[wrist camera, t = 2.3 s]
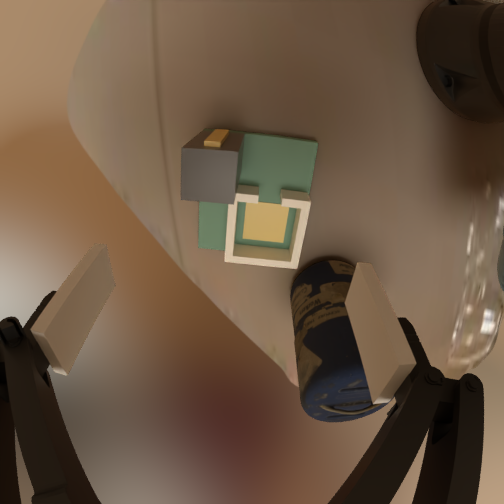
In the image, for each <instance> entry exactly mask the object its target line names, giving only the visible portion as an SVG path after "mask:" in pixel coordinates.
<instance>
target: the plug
mask: <svg viewBox="0 0 504 504" xmlns="http://www.w3.org/2000/svg"><path fill="white" fill-rule="evenodd" d="M244 137H245V134H243V133H231V132H229V130H225V129H215V130H214V131H202V132H200V133H199V134H198V135H197V136H195V137H194V138H193V139H192V140H191V141H189V142H188V143H187V144H186V145H185V146H183V147H182V154H181V200H188V201H200V202H211V203H222V204H233V205H234V201H235V197H236V193H237V188H238V184H239V180H240V175H241V168H242V157H243V147H244Z"/></svg>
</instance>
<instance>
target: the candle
mask: <svg viewBox="0 0 504 504" xmlns="http://www.w3.org/2000/svg"><path fill="white" fill-rule="evenodd" d="M354 272H355V268H354V267H353V266H351V265H350V264H347V263H345V262H343V261H334V260H332V261H323V262H319V263H316V264H314V265H312V266H310V267H308V268H307V269H305V270H304V271H303V272H302V273H301V274H300V275H299V276H298V277H297V278H296V280H295V282H294V284H293V286H292V289H291V295H290V298H291V309H292V318H293V327H294V335H295V342H294V344H295V352H296V362H297V372H298V382H299V390H300V400H301V404H302V407H303V409H304V411H305V412H306V413H307V414H308V415H309V416H311V417H312V418H314V419H317V420H320V421H325V422H343V421H350V420H355V419H358V418H362V417H364V416H367V415H370V414H372V413H374V412H376V411H378V410H379V409H381V408H382V407H384V406H385V405H387V404H388V403H389V402H390V401H391V400H392V399H393V398H394V397H395V396H393V397H392V399H391V400H390V401H389V402H387V403H379V404H373V402H372V398H371V394H370V390H369V386H368V382H367V379H366V375H365V371H364V367H363V363H362V360H361V356H360V353H359V349H358V346H357V342H356V339H355V335H354V332H353V328H352V325H351V322H350V318H349V315H348V312H347V309H346V305H345V301H346V297H347V294H348V291H349V288H350V285H351V282H352V278H353V275H354Z"/></svg>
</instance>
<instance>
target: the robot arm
mask: <svg viewBox="0 0 504 504" xmlns="http://www.w3.org/2000/svg"><path fill="white" fill-rule="evenodd" d="M417 48H418V54H419V59H420V62H421V66H422V68H423V71H424V74H425V76H426V78H427V80H428V82H429V84H430V86H431V87H432V89H433V91H434V92H435V93H436V95H437V96H438V97H439V99H440V100H441V101H442V102H443V103H444V104H445V105H446V106H447V107H448V108H449V109H450V110H452V111H453V112H455V113H456V114H458V115H459V116H462V117H464V118H466V119H470V120H473V121H476V122H479V123H487V124H491V123H498V122H504V3H499V4H494V3H490V2H487V1H483V0H437V1H435V2H433V3H432V4H430V5H429V6H428V7H427V8H426V9H425V11H424V12H423V14H422V16H421V18H420V21H419V24H418V29H417ZM497 271H498V279H499V283H500V286H501V288H502V290H503V291H504V228H503V241H502V245H501V250H500V254H499V258H498V265H497ZM114 287H115V282H114V277H113V273H112V268H111V264H110V259H109V255H108V249H107V245H106V244H94V245H93V246H92V247H91V249H90V250H89V251H88V252H87V253H86V255H85V256H84V257H83V258H82V260H81V261H80V262H79V263H78V265H77V266H76V267H75V268H74V270H73V271H72V272H71V273H70V275H69V276H68V277H67V279H66V280H65V281H64V283H63V284H62V285H61V287H60V288H59V290H58V291H52V292H51V293H49V294H48V295H47V296H45V298H44V299H43V300H42V302H41V303H40V305H39V306H38V307H37V309H36V311H35V312H34V313H33V314H32V316H31V317H30V319H29V320H28V321H27V323H26V324H25V326H24V327H23V328H22V326H21V324H20V322H19V320H18V319H17V318H16V317H7V318H5V319H3V320H2V321H1V322H0V504H21V498H20V492H19V485H18V476H17V466H16V452H15V429H16V433H17V437H18V441H19V445H20V448H21V452H22V456H23V459H24V462H25V465H26V468H27V471H28V475H29V477H30V480H31V483H32V486H33V488H34V495H33V496H32V504H101V502H100V501H99V499H98V498H97V496H96V494H95V492H94V490H93V488H92V487H91V484H90V482H89V481H88V478H87V476H86V474H85V472H84V470H83V468H82V465H81V463H80V461H79V459H78V457H77V454H76V452H75V449H74V447H73V444H72V442H71V439H70V437H69V434H68V432H67V429H66V426H65V423H64V421H63V418H62V415H61V412H60V409H59V406H58V402H57V399H56V396H55V393H54V389H53V386H52V382H51V379H50V375H49V372H48V371H47V368H48V366H49V365H51V366H52V368H53V370H54V372H57V373H60V374H64V375H66V376H68V374H69V372H70V370H71V368H72V366H73V364H74V362H75V360H76V358H77V356H78V354H79V351H80V350H81V348H82V346H83V344H84V342H85V340H86V338H87V336H88V334H89V332H90V330H91V328H92V326H93V325H94V323H95V321H96V319H97V317H98V315H99V314H100V312H101V310H102V308H103V306H104V305H105V303H106V301H107V299H108V298H109V296H110V294H111V292H112V291H113V289H114ZM345 305H346V309H347V312H348V315H349V318H350V322H351V325H352V328H353V332H354V335H355V339H356V342H357V346H358V349H359V353H360V356H361V360H362V363H363V367H364V371H365V375H366V379H367V382H368V386H369V390H370V394H371V398H372V402H373V404H379V403H387V402H389V401H390V400H391V399H392V397H393V396H395V399H396V403H395V405H394V406H393V407H392V408H391V410H390V411H389V412H388V413H387V415H388V417H387V418H386V420H385V422H384V423H383V425H382V427H381V429H380V430H379V432H378V434H377V435H376V437H375V438H374V440H373V442H372V443H371V445H370V446H369V448H368V449H367V451H366V452H365V454H364V455H363V457H362V458H361V460H360V461H359V463H358V464H357V466H356V467H355V469H354V470H353V471H352V473H351V474H350V476H349V477H348V478H347V480H346V481H345V482H344V484H343V485H342V486H341V487H340V489H339V490H338V491H337V493H336V494H335V496H333V498H332V499H331V500H330V502H329V503H328V504H389V503H390V502H391V500H392V499H393V497H394V495H395V494H396V492H397V490H398V489H399V487H400V485H401V483H402V482H403V480H404V478H405V476H406V474H407V472H408V471H409V469H410V467H411V465H412V463H413V461H414V459H415V457H416V455H417V453H418V450H419V449H420V447H421V444H422V442H423V440H424V438H425V436H426V433H427V431H428V429H429V431H428V437H427V443H426V448H425V453H424V458H423V463H422V467H421V472H420V476H419V480H418V484H417V488H416V491H415V495H414V498H413V502H412V504H476V500H477V494H478V487H479V481H480V473H481V463H482V451H483V435H484V393H483V392H484V391H483V384H482V382H481V380H480V379H479V378H478V377H477V376H476V375H473V374H470V373H467V374H464V375H463V376H462V377H461V379H460V380H455V379H449V378H445V377H444V375H443V374H442V372H441V371H440V370H439V369H437V368H435V367H432V366H431V365H430V363H429V360H428V358H427V356H426V353H425V351H424V349H423V347H422V345H421V342H419V341H420V340H419V338H418V336H417V335H416V331H415V329H414V327H413V325H412V324H411V323H410V322H409V321H408V320H407V319H406V318H397V316H396V314H395V312H394V310H393V308H392V306H391V303H390V301H389V299H388V297H387V295H386V293H385V291H384V289H383V287H382V285H381V283H380V281H379V279H378V277H377V275H376V273H375V271H374V269H373V267H372V265H371V263H362V262H357V265H356V268H355V272H354V275H353V278H352V282H351V285H350V288H349V291H348V294H347V297H346V301H345Z"/></svg>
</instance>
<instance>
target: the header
mask: <svg viewBox="0 0 504 504" xmlns="http://www.w3.org/2000/svg"><path fill="white" fill-rule="evenodd" d="M258 197H259V187H257V186H248V185H238V188H237V193H236V197H235V201H234V205H233V204H228V217H227V231H226V246H225V261H224V262H232V263H242V264H251V265H261V266H271V267H281V268H291V269H297V267H298V263H299V258H300V253H301V249H302V244H303V239H304V235H305V230H306V225H307V220H308V215H309V210H310V205H311V200H310V198H309V195H308V193H306V192H299V191H291V190H283V189H281V193H280V201H281V204H276V203H267V202H258ZM238 202H246V209H245V219H244V229H243V239H252V240H261V241H271V242H280V243H283V241H284V235H285V229H286V224H287V218H288V212H289V207H291V208H297V210H296V215H295V221H294V226H293V232H292V237H291V242H290V248H289V249H280V248H271V247H261V246H252V245H242V244H235V234H236V222H237V211H238Z"/></svg>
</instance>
